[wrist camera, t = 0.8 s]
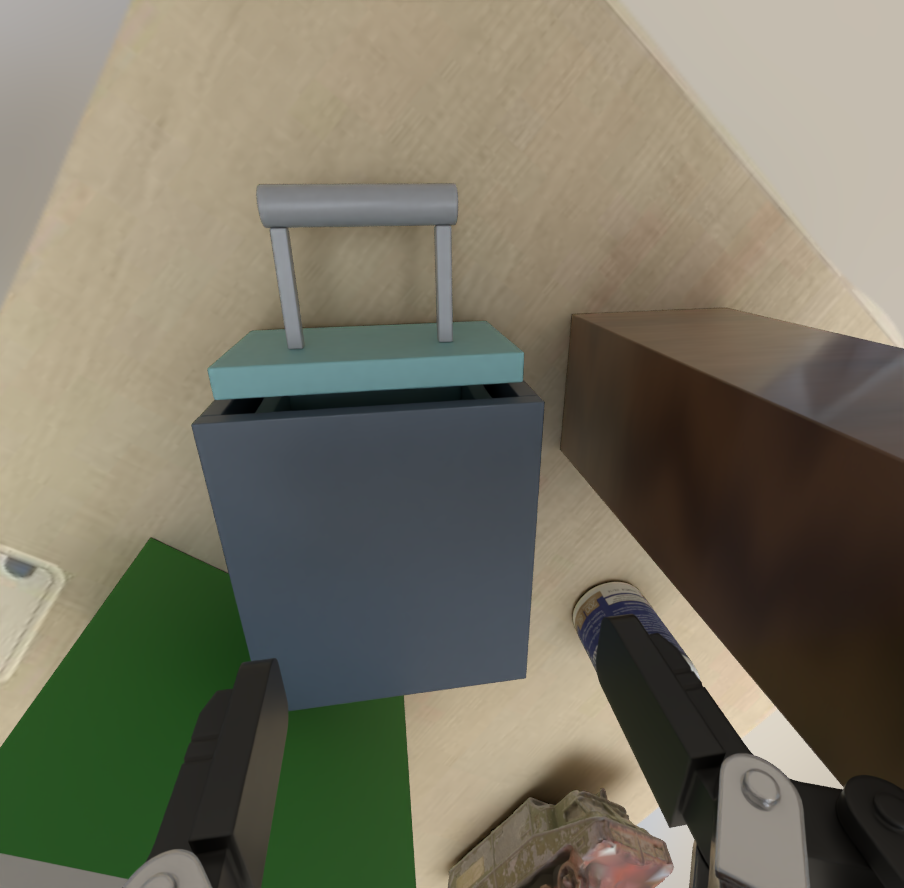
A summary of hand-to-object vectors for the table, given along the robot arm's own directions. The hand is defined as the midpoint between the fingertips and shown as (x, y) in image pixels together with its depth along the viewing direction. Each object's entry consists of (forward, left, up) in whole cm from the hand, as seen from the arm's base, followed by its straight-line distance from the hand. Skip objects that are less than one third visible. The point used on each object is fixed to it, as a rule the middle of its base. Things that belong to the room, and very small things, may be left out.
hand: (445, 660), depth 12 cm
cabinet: (+4, -1, -17) cm, 17 cm away
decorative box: (+39, +8, -17) cm, 43 cm away
